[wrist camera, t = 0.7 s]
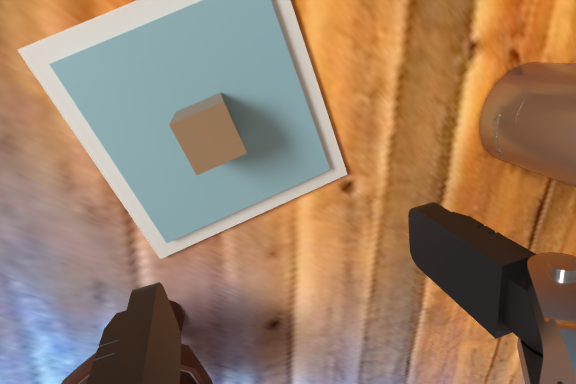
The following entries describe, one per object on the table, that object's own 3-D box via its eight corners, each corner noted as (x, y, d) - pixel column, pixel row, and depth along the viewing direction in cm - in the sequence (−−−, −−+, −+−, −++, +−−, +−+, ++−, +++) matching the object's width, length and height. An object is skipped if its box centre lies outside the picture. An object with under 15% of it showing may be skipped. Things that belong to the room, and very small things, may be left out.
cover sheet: (260, -23, 24) (275, -44, 18) (327, 166, 30) (352, 191, 25) (54, 63, 23) (8, 67, 18) (167, 238, 29) (159, 279, 24)
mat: (270, -54, 24) (272, -56, 23) (345, 172, 31) (347, 174, 31) (21, 49, 23) (17, 49, 22) (161, 255, 30) (160, 259, 30)
